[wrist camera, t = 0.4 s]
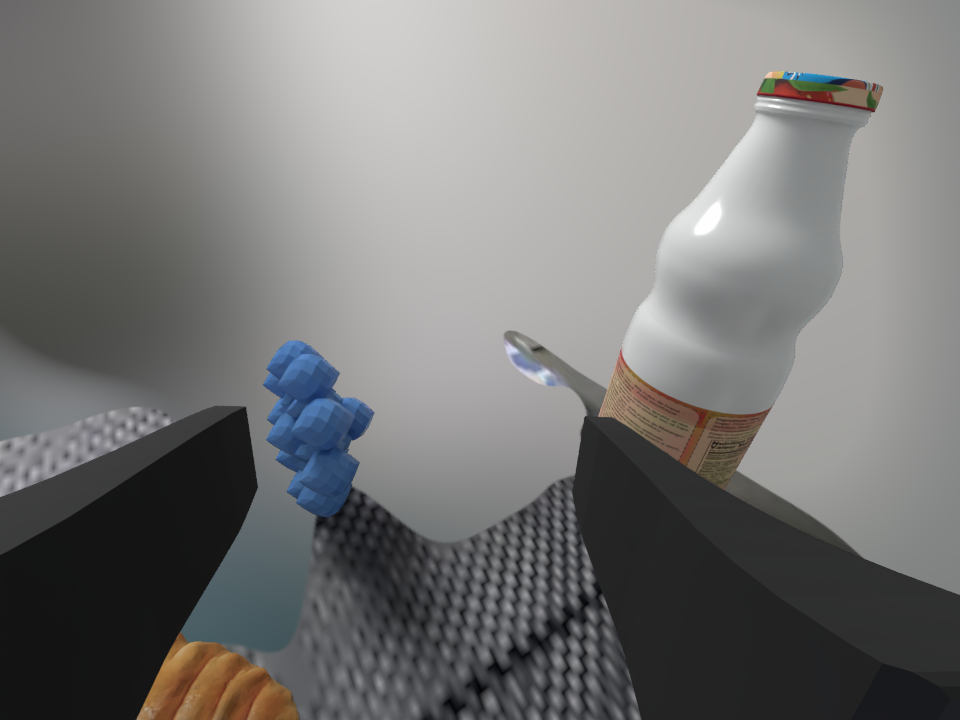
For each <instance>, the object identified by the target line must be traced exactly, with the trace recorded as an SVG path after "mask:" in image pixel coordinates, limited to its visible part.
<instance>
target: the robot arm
mask: <svg viewBox="0 0 960 720" xmlns="http://www.w3.org/2000/svg"><path fill="white" fill-rule="evenodd" d="M257 488H258V485H257V478H256V471H255V465H254V458H253V451H252V445H251V438H250V432H249V424H248V418H247V412H246V407H240V406H214V407H211V408H208V409H205V410H202V411H200V412H197V413H195V414H193V415H190V416H188V417H186V418H184V419H181V420H179V421H177V422H175V423H173V424H170V425H168V426H166V427H164V428H162V429H160V430H157V431H155V432H153V433H151V434H149V435H147V436H145V437H142V438H140V439H138V440H136V441H134V442H132V443H129V444H127V445H125V446H123V447H121V448H119V449H117V450H114V451H112V452H110V453H107V454H105V455H103V456H100V457H98V458H96V459H94V460H91V461H89V462H87V463H84V464H82V465H80V466H77V467H75V468H73V469H70V470H68V471H66V472H63V473H61V474H59V475H56V476H54V477H52V478H49V479H47V480H44V481H42V482H39V483H37V484H34V485H32V486H29V487H26V488H24V489H21V490H19V491H16V492H13V493H11V494H8V495H5V496H2V497H0V720H137V717H138V715H139V713H140V711H141V709H142V707H143V705H144V703H145V700H146V698H147V696H148V694H149V692H150V690H151V688H152V686H153V684H154V681H155V679H156V677H157V675H158V673H159V671H160V669H161V667H162V665H163V662H164V660H165V658H166V657H167V655H168V653H169V651H170V649H171V647H172V646H173V644H174V642H175V640H176V638H177V636H178V635H179V633H180V631H181V629H182V628H183V626H184V624H185V622H186V621H187V619H188V618H189V616H190V614H191V613H192V611H193V609H194V607H195V606H196V604H197V602H198V601H199V599H200V597H201V596H202V594H203V592H204V591H205V589H206V587H207V586H208V584H209V582H210V581H211V579H212V577H213V576H214V574H215V572H216V571H217V569H218V567H219V566H220V564H221V562H222V561H223V559H224V557H225V555H226V554H227V552H228V550H229V549H230V547H231V545H232V543H233V542H234V540H235V538H236V536H237V535H238V533H239V531H240V529H241V527H242V524H243V522H244V520H245V518H246V515H247V513H248V511H249V508H250V506H251V503H252V501H253V498H254V496H255V493H256V491H257ZM572 494H573V499H574V504H575V509H576V513H577V518H578V522H579V526H580V531H581V535H582V537H583V540H584V543H585V546H586V549H587V552H588V554H589V557H590V560H591V563H592V565H593V568H594V571H595V574H596V576H597V579H598V582H599V584H600V587H601V590H602V592H603V595H604V598H605V600H606V603H607V606H608V609H609V611H610V614H611V617H612V619H613V622H614V625H615V627H616V630H617V633H618V636H619V639H620V642H621V645H622V648H623V651H624V655H625V658H626V662H627V665H628V669H629V673H630V677H631V681H632V684H633V688H634V692H635V696H636V700H637V703H638V707H639V711H640V715H641V719H642V720H960V595H958V594H955V593H952V592H950V591H947V590H944V589H942V588H939V587H936V586H933V585H931V584H928V583H925V582H923V581H920V580H917V579H915V578H912V577H909V576H906V575H904V574H901V573H898V572H896V571H893V570H891V569H888V568H886V567H883V566H881V565H878V564H876V563H873V562H871V561H868V560H865V559H863V558H861V557H858V556H856V555H854V554H851V553H849V552H847V551H845V550H842V549H840V548H838V547H836V546H833V545H831V544H829V543H826V542H824V541H822V540H820V539H817V538H815V537H813V536H811V535H809V534H806V533H804V532H802V531H800V530H798V529H796V528H794V527H792V526H790V525H788V524H786V523H784V522H782V521H780V520H778V519H776V518H774V517H772V516H770V515H768V514H766V513H764V512H763V511H761V510H759V509H757V508H755V507H753V506H751V505H749V504H747V503H746V502H744V501H742V500H740V499H738V498H737V497H735V496H733V495H731V494H730V493H728V492H726V491H725V490H723V489H721V488H720V487H718V486H717V485H715V484H713V483H712V482H710V481H708V480H707V479H705V478H703V477H702V476H700V475H699V474H697V473H696V472H694V471H693V470H691V469H689V468H688V467H686V466H685V465H683V464H682V463H680V462H679V461H677V460H676V459H674V458H673V457H671V456H670V455H668V454H667V453H666V452H664V451H663V450H661V449H660V448H658V447H657V446H655V445H654V444H653V443H651V442H650V441H648V440H647V439H645V438H644V437H642V436H641V435H640V434H638V433H637V432H635V431H634V430H632V429H631V428H629V427H628V426H626V425H625V424H623V423H622V422H620V421H618V420H616V419H615V418H613V417H589V416H585V418H584V424H583V430H582V436H581V442H580V449H579V455H578V461H577V467H576V473H575V480H574V486H573V492H572Z"/></svg>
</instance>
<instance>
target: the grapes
mask: <svg viewBox="0 0 960 720" xmlns="http://www.w3.org/2000/svg"><path fill="white" fill-rule="evenodd" d="M267 370H268V371H269V372H270V373H269V375H268V377H267V378H266V380H265V382H264V384H263V385H264V386H265V387H266V388H267V389H269V390H270V391H271V392H273V393H274V394H276V395H277V396H279V397H281V399H279V401H278V402H277V403H276V405H275V406H274V408H273V409H272V411H271V413H270V415H269V416H268V419H267V420H268V421H269V422H270V423H272V424H273V425H274V426H273V428H272V429H271V431H270V433H269V435H268V437H267V439H266V440H267V441H268V442H269V443H271V444H272V445H274V446H275V447H277V448H278V449H280V452H279V454H278V456H277V458H276V460H277V461H278V462H279V463H281V464H282V465H284V466H286V467H287V468H289V469H291V470H293V471H295V472H297V473H296V475H295V476H294V478H293V480H292V481H291V484H290V486H289V488H288V490H287V493H289V494H290V495H292V496H293V497H295V498H296V499H297V502H296V503H297V504H299V505H300V506H301V507H302V508H304V509H306V510H307V511H309V512H311V513H312V514H315V515H317V516H321V517H327V518H328V517H330V516H332V515H334V514H336V513H337V512H338V511H339V510H340V509H341V508H342V506H343V505H344V503H345V501H346V499H347V497H348V494H349V492H350V489H351V487H352V484H351V482H352V480H353V478H354V476H355V473H356V470H357V468H358V466H359V462H358V461H357V460H356V459H355V458H353V457H352V456H351V455H349V454H347V452H348V450H349V449H348V447H349V445H350V442H351V440H355V439H357V438H359V437H360V436H362V435H363V434H364V433H365V431H366V430H367V428H368V427H369V425H370V422H371V420H372V417H373V415H374V412H373V411H372V410H371V409H370V408H369V407H368V406H367V405H366V404H364V403H363V402H361V401H360V400H358V399H356V398H341V397H340V396H339V395H338V394H337V393H336V391H335V390H334V389H332V387H333V385H334V384H335V382H336V380H337V378H338V376H339V374H340V373H339V372H338V371H337V370H336V369H335V368H334V367H333V366H331V365H330V364H329V363H328V362H327V361H326V360H324V358H323V357H322V356H321V355H320V354H319V353H318V352H316V351H315V350H314V349H313V348H312V347H311V346H309V345H307V344H305V343H304V342H302V341H288V342H287V343H285V344H284V345H283V346H282V347H281V348H280V349H279V350H278V351H277V352H276V354H275V355H274V357H273V358H272V360H271V362H270V364H269V365H268V367H267Z"/></svg>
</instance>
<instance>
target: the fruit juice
mask: <svg viewBox="0 0 960 720" xmlns="http://www.w3.org/2000/svg"><path fill="white" fill-rule="evenodd" d="M882 91H883V87H882V86H880V85H878V84H875V83H870V82H865V81H860V80H854V79H847V78H841V77H833V76H826V75H817V74H808V73H796V72H780V71H779V72H777V71H775V72H769V73H768V74H767V75H766V77H765V79H764V81H763V83H762V85H761V87H760V89H759V91H758V93H757V95H758V96H759V97H758V98H757V99H756V101H757V102H756V104H755V105H754V110H755V111H756V117H755V120H754V122H753V124H752V126H751V127H750V129H749V130H748V132H747V133H746V134H745V136H744V137H743V138H742V140H741V141H740V142H739V143H738V145H737V146H736V147H735V148H734V150H733V151H732V153H731V154H730V155H729V157H728V158H727V159H726V161H725V162H724V163H723V165H722V166H721V167H720V168H719V170H718V171H717V172H716V174H715V175H714V176H713V177H712V179H711V180H710V181H709V183H708V184H707V185H706V187H705V188H704V189H703V190H702V191H701V193H700V194H699V195H698V196H697V197H696V198H695V199H694V200H693V202H691V204H689V205H688V206H687V207H686V208H685V209H684V210H683V211H682V212H681V213H679V214H678V215H677V216H676V217H675V218H674V219H673V220H672V221H671V223H670V224H669V226H668V227H667V229H666V230H665V232H664V234H663V237H662V239H661V242H660V244H659V247H658V250H657V255H656V262H655V280H654V286H653V289H652V291H651V293H650V295H649V296H648V297H647V298H646V299H645V300H644V301H643V302H642V303H641V305H640V306H639V308H638V309H637V311H636V313H635V315H634V317H633V319H632V321H631V324H630V326H629V328H628V331H627V333H626V336H625V338H624V342H623V345H622V348H621V351H620V354H619V357H618V360H617V364H616V366H615V370H614V372H613V375H612V378H611V381H610V384H609V387H608V390H607V393H606V396H605V399H604V402H603V405H602V408H601V411H600V414H599V416H598V417H613V418H615V419H616V420H618V421H620V422H622V423H623V424H625V425H626V426H628V427H629V428H631V429H632V430H634V431H635V432H637V433H638V434H640V435H641V436H642V437H644V438H645V439H647V440H648V441H650V442H651V443H653V444H654V445H655V446H657V447H658V448H660V449H661V450H663V451H664V452H666V453H667V454H668V455H670V456H671V457H673V458H674V459H676V460H677V461H679V462H680V463H682V464H683V465H685V466H686V467H688V468H689V469H691V470H693V471H694V472H696V473H697V474H699V475H700V476H702V477H703V478H705V479H707V480H708V481H710V482H712V483H713V484H715V485H717V486H718V487H720V488H721V489H723V490H725V488H726V486H727V485H728V483H729V481H730V479H731V478H732V476H733V474H734V472H735V471H736V469H737V467H738V465H739V463H740V462H741V460H742V458H743V457H744V455H745V453H746V451H747V450H748V448H749V446H750V444H751V442H752V441H753V439H754V437H755V436H756V434H757V432H758V430H759V428H760V427H761V425H762V423H763V421H764V420H765V418H766V416H767V415H768V413H769V411H770V410H771V408H772V406H773V405H774V403H775V401H776V399H777V398H778V396H779V394H780V393H781V390H782V389H783V386H784V384H785V382H786V380H787V378H788V376H789V373H790V371H791V368H792V366H793V363H794V358H795V342H796V339H797V336H798V334H799V333H800V331H801V329H802V328H803V327H804V326H805V325H806V324H807V323H808V322H809V321H810V320H811V319H813V318H814V316H816V315H817V314H818V313H819V312H820V310H821V309H822V308H823V307H824V306H825V305H826V304H827V302H828V301H829V299H830V298H831V297H832V294H833V292H834V290H835V288H836V286H837V284H838V282H839V279H840V276H841V273H842V267H843V257H842V250H841V243H840V218H841V209H842V200H843V191H844V184H845V178H846V171H847V164H848V155H849V148H850V144H851V140H852V138H853V136H854V134H855V132H856V131H857V130H858V129H859V128H860V127H864V126H865V125H866V124H867V122H868V118H869V117H870V116H871V112H875V110H876V108H877V105H878V103H879V100H880V98H881V95H882Z"/></svg>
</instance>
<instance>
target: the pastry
mask: <svg viewBox="0 0 960 720" xmlns="http://www.w3.org/2000/svg"><path fill="white" fill-rule="evenodd" d="M137 720H299V713H298V711H297V709H296V705H295V703H294V701H293V696H292V694H291V692H290V691H289V690H288V689H287V688H285V687H283V686H282V685H281V684H279V683H278V682H276V681H274V680H273V679H272V678H271V677H270V675H269V674H268V672H267V671H266V669H265V668H260V667H258V666H256V665H253V664H251V663H249V662H248V661H247V659H245V658H244V657H243V656H241V655H239V654H237V653H230V652H229V651H228V650H227V649H226V648H225V647H224V646H222V645H221V644H219V643H205V642H192V643H189V642H187V641H186V639H185V638H184V636H183V635H182V634H181V633H179V635H178V636H177V638H176V640H175V642H174V644H173V646H172V647H171V649H170V651H169V653H168V655H167V657H166V658H165V660H164V662H163V665H162V667H161V669H160V671H159V673H158V675H157V677H156V679H155V681H154V684H153V686H152V688H151V690H150V692H149V694H148V696H147V698H146V700H145V703H144V705H143V707H142V709H141V711H140V713H139V715H138V717H137Z"/></svg>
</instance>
